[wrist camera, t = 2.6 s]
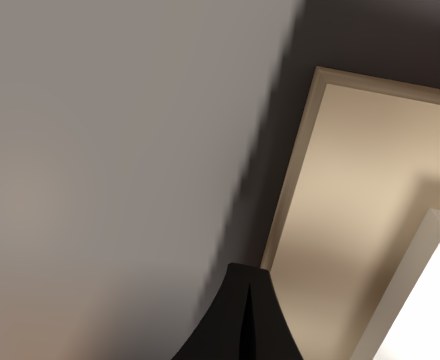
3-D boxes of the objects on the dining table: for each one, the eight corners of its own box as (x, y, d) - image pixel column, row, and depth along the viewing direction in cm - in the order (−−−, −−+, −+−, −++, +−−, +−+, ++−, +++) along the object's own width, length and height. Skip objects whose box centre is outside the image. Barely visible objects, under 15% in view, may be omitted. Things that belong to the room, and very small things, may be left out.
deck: (434, 386, 18) (457, 441, 16) (238, 344, 18) (234, 392, 16) (629, 124, 11) (715, 156, 9) (316, 66, 12) (327, 83, 10)
